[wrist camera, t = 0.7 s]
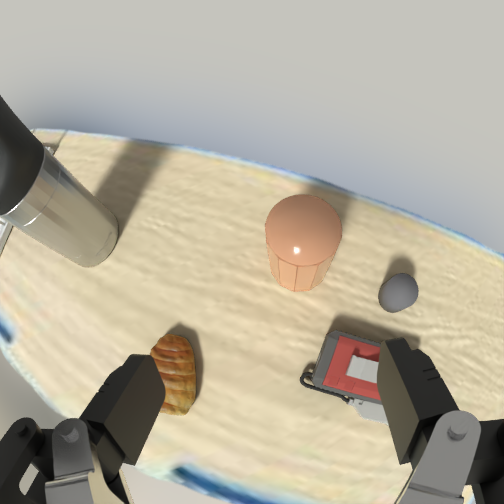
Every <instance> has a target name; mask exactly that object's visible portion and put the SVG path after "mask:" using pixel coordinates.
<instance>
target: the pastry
mask: <svg viewBox="0 0 504 504" xmlns="http://www.w3.org/2000/svg"><path fill="white" fill-rule="evenodd" d="M150 355H151V356H152V357H153V358H154V361H155V363H156V366H157V368H158V371H159V373H160V376H161V378H162V380H163V383H164V385H165V390H166V396H165V400H164V403H163V405H162V407H161V409H160V411H159V412H160V413H166V414H171V415H180V416H181V415H185V414H186V413H187V412H188V411H189V409H190V407H191V405H192V404H193V402H194V400H195V394H196V373H195V361H194V353H193V350H192V348H191V345H190V343H189V342H188V340H187V339H186V338H184V337H181V336H177V335H173V334H166V335H165V336H163V337H162V338H160V339H159V340H158V342H157V344H156V345H155V346H154V347H153V348H152V349H151V353H150Z"/></svg>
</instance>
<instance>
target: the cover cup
mask: <svg viewBox="0 0 504 504" xmlns="http://www.w3.org/2000/svg"><path fill="white" fill-rule="evenodd" d="M265 232H266V243H267V249H268V255H269V260H270V266H271V272H272V274H273V276H274V277H275V279H276V280H277V282H278V283H279V284H280V286H283V287H285V288H287V289H289V290H291V291H294V292H298V291H309V290H311V289H312V288H314V287H315V286H317V285H318V284H319V283H321V282H322V280H323V278H324V276H325V274H326V272H327V270H328V268H329V265H330V263H331V261H332V259H333V257H334V255H335V252H336V250H337V247H338V245H339V243H340V240H341V238H342V227H341V222H340V219H339V216H338V214H337V213H336V211H335V210H334V209H333V208H332V206H331V205H329V204H328V203H327V202H326V201H324V200H322V199H320V198H318V197H315V196H311V195H294V196H290V197H287V198H285V199H283V200H281V201H280V202H278V203H277V204H276V205H275V206H274V207H273V208H272V210H271V211H270V213H269V215H268V217H267V220H266V223H265Z"/></svg>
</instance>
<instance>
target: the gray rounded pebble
mask: <svg viewBox="0 0 504 504" xmlns="http://www.w3.org/2000/svg"><path fill="white" fill-rule="evenodd" d="M417 297H418V285H417V283H416V281H415V280H414V278H413V277H411V276H410V275H408V274H405V273H399V274H396V275H395V276H393V277H392V278H391V279H390V280H388V281H387V282H386V283H385V284H383V285H382V287H381V288H380V290H379V294H378V299H379V303H380V305H381V306H382V308H383V309H384V310H386V311H388V312H391V313H395V312H398V311H401V310H403V309H405V308H407V307H409V306H411V305H413V304H414V303H415V301H416V300H417Z"/></svg>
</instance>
